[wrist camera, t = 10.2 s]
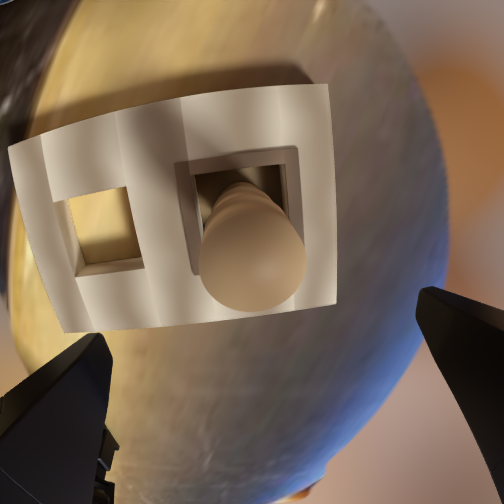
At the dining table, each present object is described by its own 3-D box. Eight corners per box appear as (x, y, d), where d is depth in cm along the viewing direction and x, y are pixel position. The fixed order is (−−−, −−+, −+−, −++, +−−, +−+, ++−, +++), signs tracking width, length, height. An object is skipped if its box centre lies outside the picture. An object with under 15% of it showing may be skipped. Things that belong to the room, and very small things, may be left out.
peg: (214, 239, 21) (208, 317, 13) (205, 178, 19) (189, 221, 11) (275, 231, 21) (308, 304, 13) (270, 170, 19) (303, 206, 11)
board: (73, 318, 22) (63, 334, 20) (23, 143, 17) (6, 147, 15) (328, 289, 23) (337, 305, 21) (317, 87, 18) (328, 83, 15)
